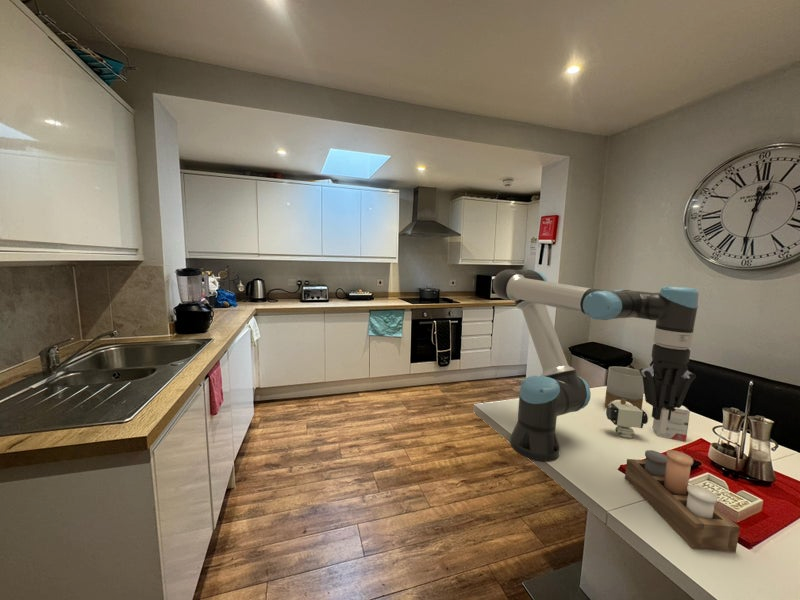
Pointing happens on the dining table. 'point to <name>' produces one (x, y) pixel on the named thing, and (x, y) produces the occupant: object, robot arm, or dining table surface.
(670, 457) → the plug terracotta
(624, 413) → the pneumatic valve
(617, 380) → the planter
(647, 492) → the socket block
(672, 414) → the ink box
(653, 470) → the plug charcoal
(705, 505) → the plug white
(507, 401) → the dining table surface
